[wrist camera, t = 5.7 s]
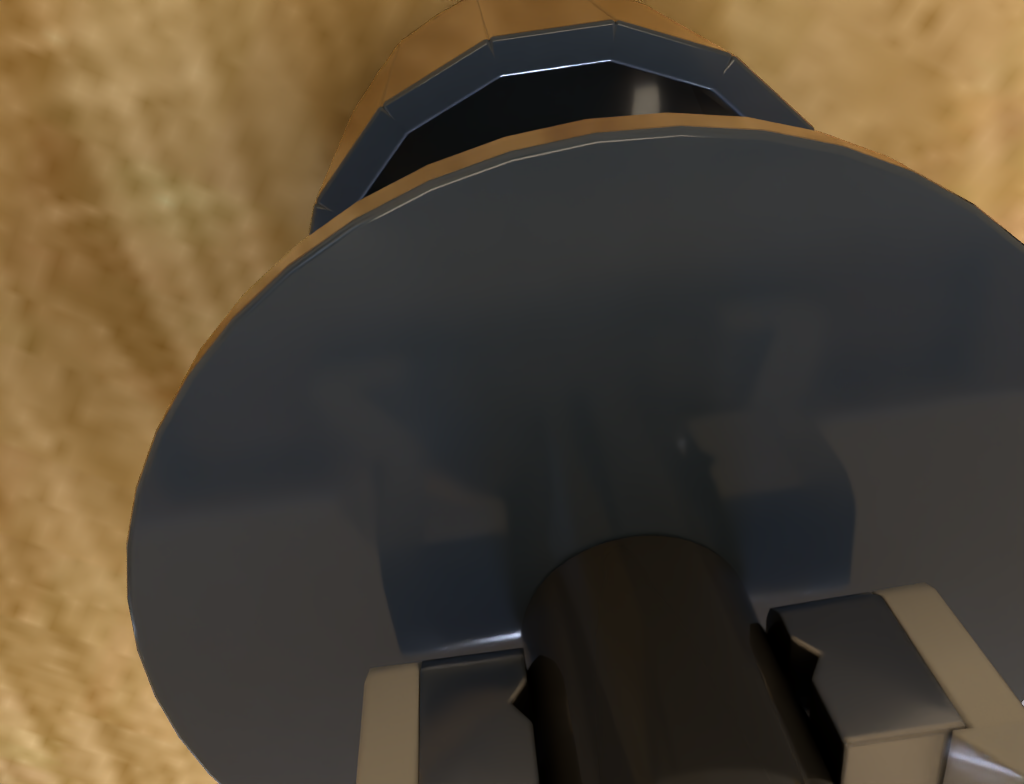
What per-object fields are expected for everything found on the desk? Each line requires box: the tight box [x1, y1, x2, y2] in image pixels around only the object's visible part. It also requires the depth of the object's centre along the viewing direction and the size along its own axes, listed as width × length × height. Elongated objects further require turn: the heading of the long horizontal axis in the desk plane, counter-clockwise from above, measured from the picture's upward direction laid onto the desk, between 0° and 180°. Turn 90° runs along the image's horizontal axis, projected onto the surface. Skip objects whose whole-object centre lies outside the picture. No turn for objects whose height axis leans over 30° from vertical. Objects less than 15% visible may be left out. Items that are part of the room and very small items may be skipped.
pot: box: [308, 0, 815, 236], centre depth 18 cm, size 10×10×7 cm
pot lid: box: [126, 113, 1024, 784], centre depth 8 cm, size 10×10×4 cm
